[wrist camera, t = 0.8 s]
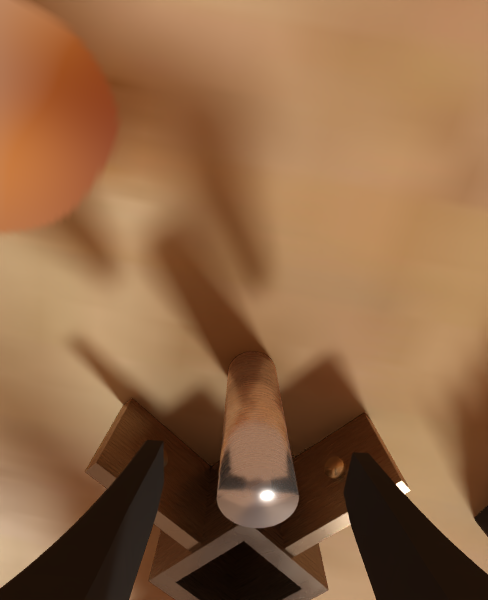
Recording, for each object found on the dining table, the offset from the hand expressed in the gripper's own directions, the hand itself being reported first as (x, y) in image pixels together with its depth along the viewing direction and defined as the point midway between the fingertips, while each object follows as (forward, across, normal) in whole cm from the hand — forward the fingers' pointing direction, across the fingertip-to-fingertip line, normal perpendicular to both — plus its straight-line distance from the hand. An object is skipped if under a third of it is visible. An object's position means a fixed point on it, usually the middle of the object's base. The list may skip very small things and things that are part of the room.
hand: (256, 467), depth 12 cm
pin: (+7, 0, 0) cm, 7 cm away
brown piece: (+7, 0, +5) cm, 8 cm away
